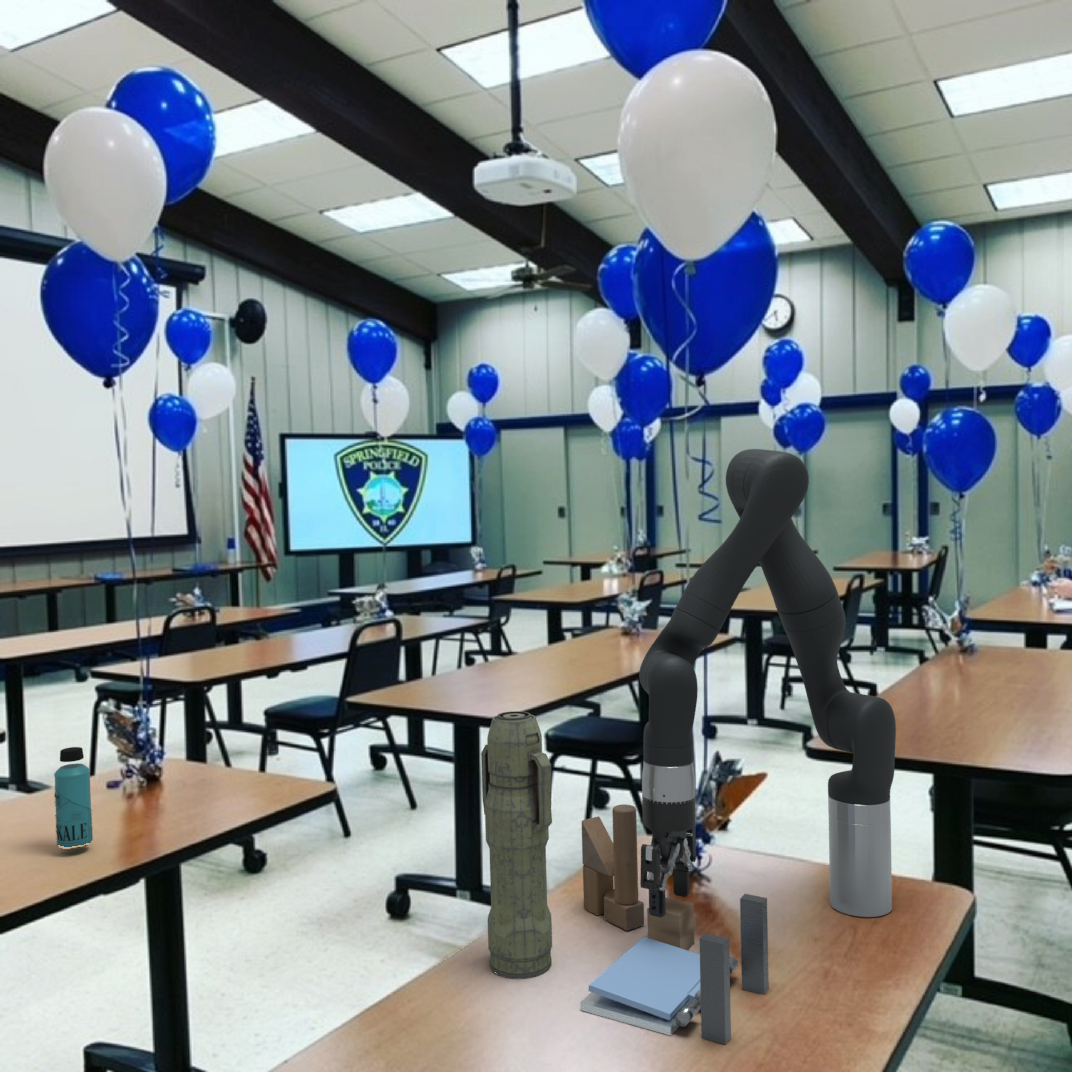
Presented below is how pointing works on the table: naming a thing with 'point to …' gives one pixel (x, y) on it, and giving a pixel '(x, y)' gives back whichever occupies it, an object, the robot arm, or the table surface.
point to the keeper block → (673, 924)
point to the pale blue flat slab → (652, 978)
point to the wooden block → (612, 869)
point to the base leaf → (708, 980)
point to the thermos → (517, 845)
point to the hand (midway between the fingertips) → (669, 905)
